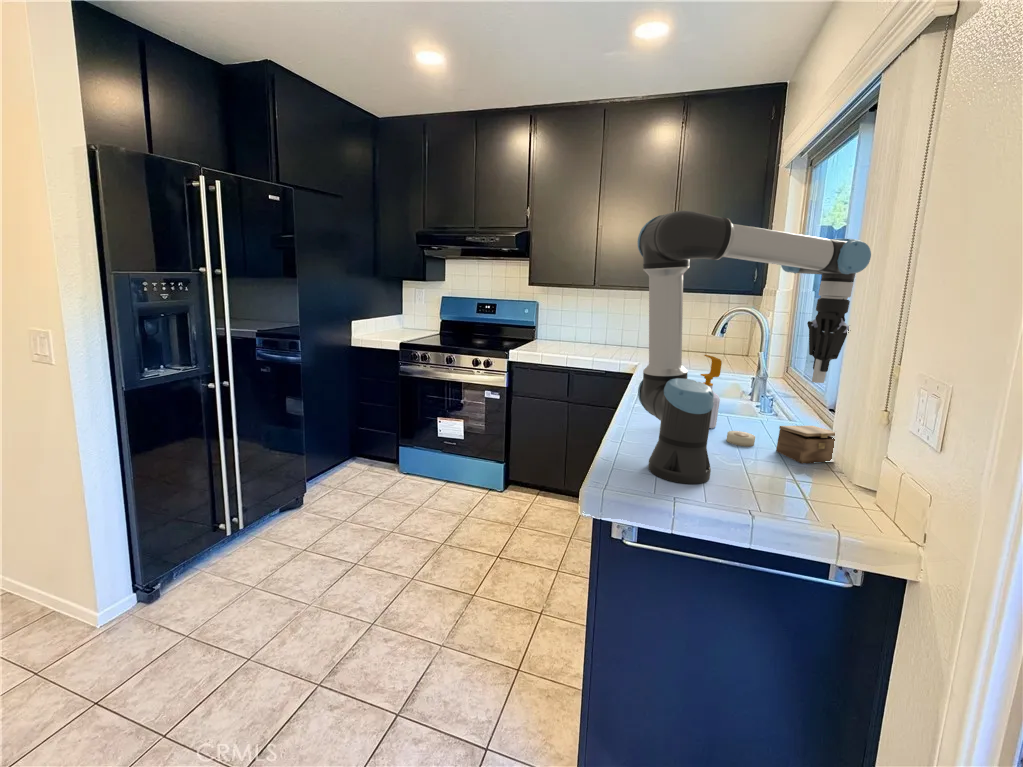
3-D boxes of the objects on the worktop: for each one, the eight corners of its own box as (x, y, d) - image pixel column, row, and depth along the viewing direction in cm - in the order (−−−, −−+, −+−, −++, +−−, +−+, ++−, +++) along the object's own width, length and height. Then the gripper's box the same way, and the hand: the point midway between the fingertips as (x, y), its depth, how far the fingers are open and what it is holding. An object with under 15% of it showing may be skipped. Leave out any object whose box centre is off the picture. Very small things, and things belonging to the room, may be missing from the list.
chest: (801, 463, 140) (806, 440, 138) (775, 451, 149) (779, 428, 148) (834, 462, 142) (839, 439, 140) (807, 450, 152) (811, 428, 150)
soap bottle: (682, 422, 175) (691, 353, 170) (702, 420, 179) (712, 352, 174) (701, 429, 167) (711, 357, 162) (721, 428, 171) (732, 357, 165)
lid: (806, 438, 138) (807, 433, 137) (779, 429, 148) (779, 425, 148) (841, 437, 140) (841, 433, 140) (811, 429, 150) (812, 425, 150)
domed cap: (737, 446, 151) (738, 438, 151) (721, 438, 159) (722, 430, 159) (759, 446, 153) (761, 438, 153) (743, 438, 161) (744, 430, 160)
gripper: (866, 300, 130) (848, 387, 135) (826, 297, 143) (811, 377, 148) (842, 298, 129) (824, 387, 134) (804, 296, 141) (789, 377, 146)
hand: (817, 382), depth 141 cm, fingers closed
